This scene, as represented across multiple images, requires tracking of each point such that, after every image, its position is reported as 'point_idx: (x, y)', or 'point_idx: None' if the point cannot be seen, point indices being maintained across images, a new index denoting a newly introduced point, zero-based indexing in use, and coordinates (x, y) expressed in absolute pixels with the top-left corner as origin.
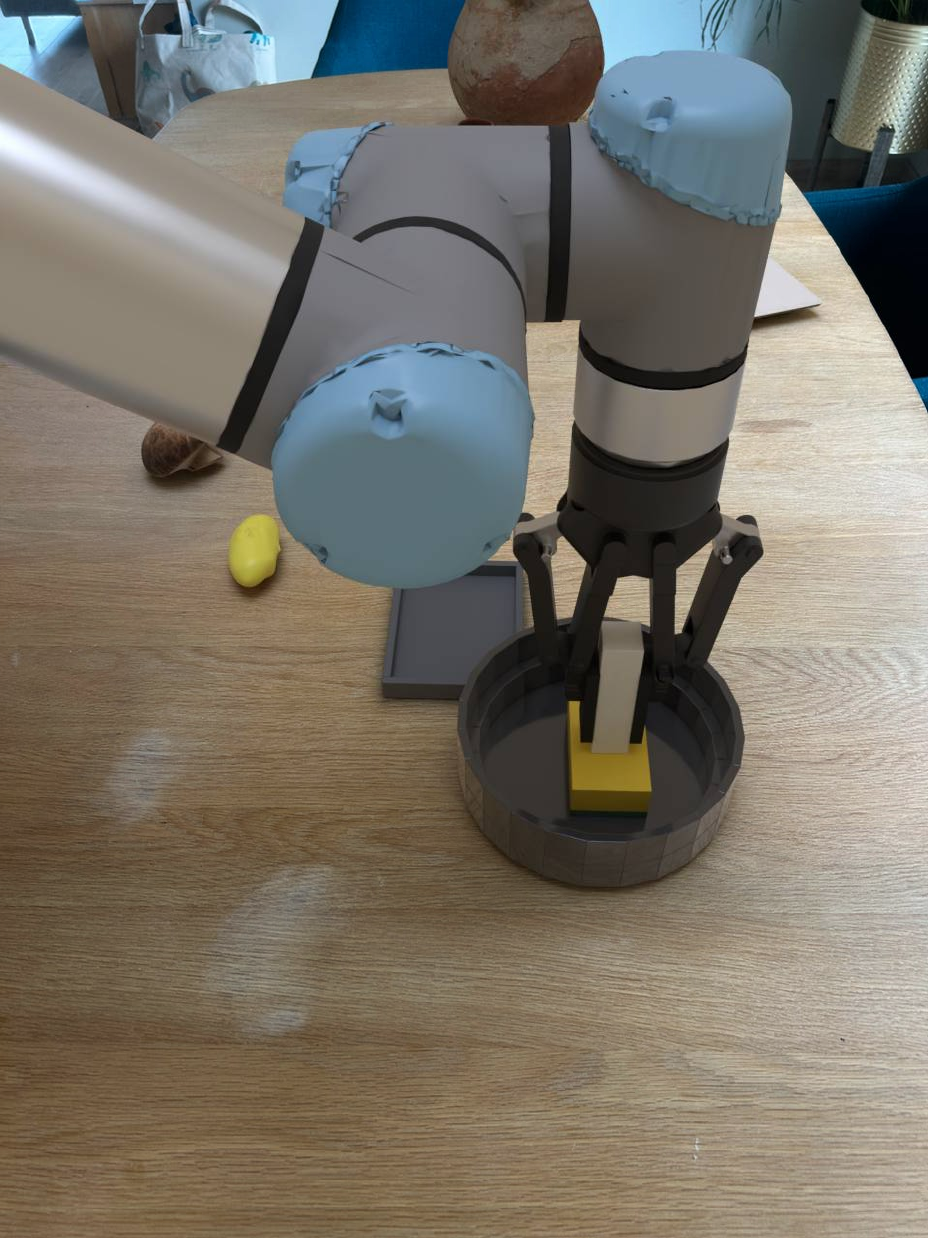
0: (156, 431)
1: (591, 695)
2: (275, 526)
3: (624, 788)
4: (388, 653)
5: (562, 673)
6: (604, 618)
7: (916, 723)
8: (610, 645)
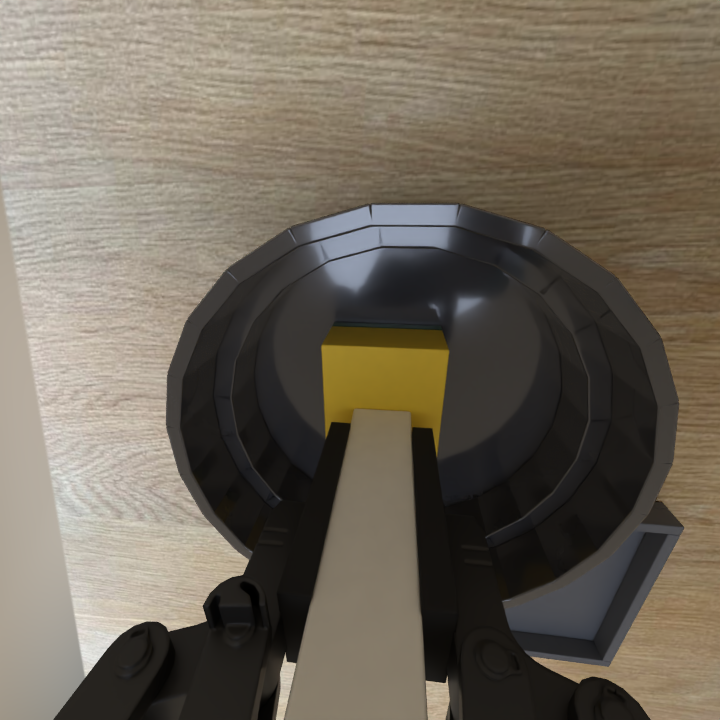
0: None
1: (433, 536)
2: None
3: (363, 350)
4: (660, 563)
5: None
6: None
7: (46, 437)
8: None
